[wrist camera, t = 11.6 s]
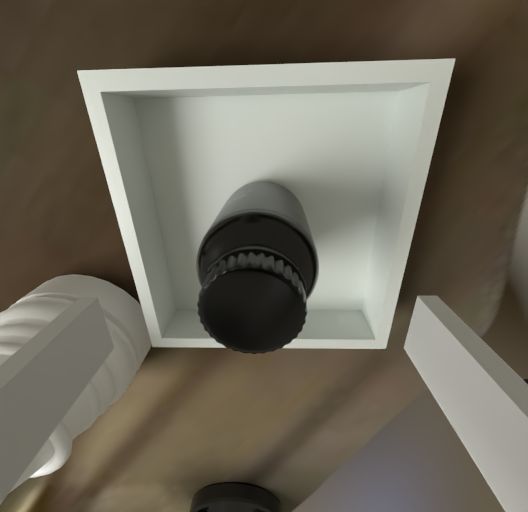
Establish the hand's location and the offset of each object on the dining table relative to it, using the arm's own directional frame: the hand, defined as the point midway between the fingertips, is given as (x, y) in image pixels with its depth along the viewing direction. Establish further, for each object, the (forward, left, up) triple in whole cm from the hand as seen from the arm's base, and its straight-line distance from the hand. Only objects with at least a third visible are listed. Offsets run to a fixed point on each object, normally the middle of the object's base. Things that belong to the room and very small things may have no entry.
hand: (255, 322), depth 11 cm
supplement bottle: (0, 0, -12) cm, 12 cm away
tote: (0, 0, -13) cm, 13 cm away
